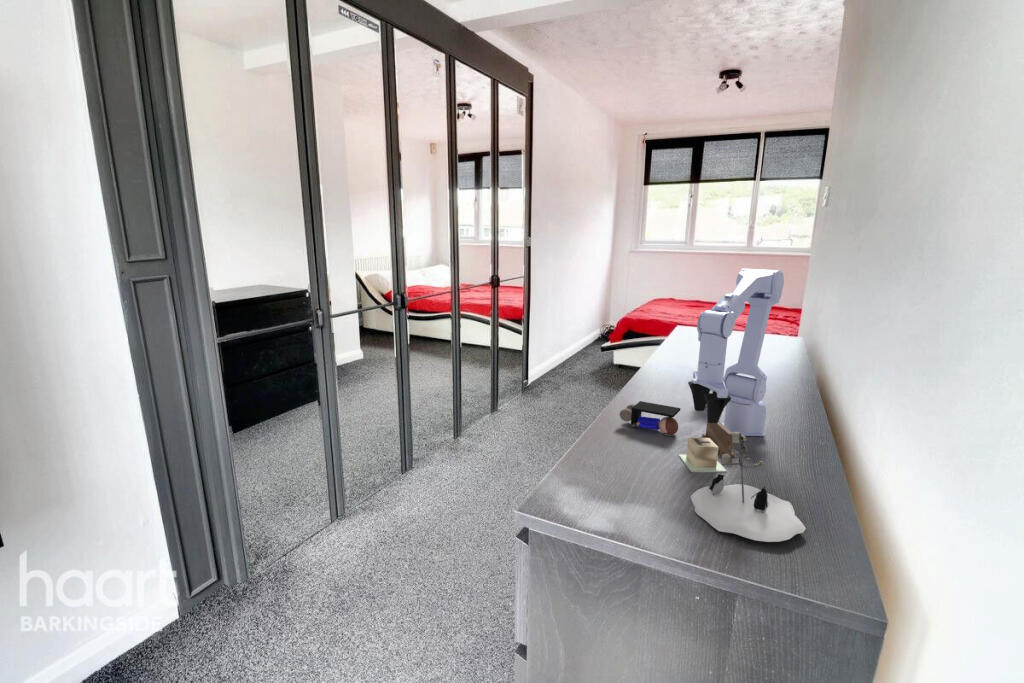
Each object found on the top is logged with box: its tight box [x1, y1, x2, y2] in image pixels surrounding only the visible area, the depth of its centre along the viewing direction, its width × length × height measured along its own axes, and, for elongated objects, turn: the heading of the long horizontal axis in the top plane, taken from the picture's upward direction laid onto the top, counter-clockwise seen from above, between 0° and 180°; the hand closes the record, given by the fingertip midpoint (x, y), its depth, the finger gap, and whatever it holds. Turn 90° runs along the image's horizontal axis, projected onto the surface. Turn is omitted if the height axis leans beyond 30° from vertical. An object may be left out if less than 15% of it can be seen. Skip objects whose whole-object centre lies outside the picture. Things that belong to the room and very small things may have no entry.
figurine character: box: [619, 400, 681, 437], centre depth 127 cm, size 7×8×15 cm
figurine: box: [690, 432, 807, 543], centre depth 88 cm, size 20×18×16 cm
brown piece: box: [701, 420, 736, 458], centre depth 117 cm, size 3×12×6 cm, turn 0°
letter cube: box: [686, 437, 719, 467], centre depth 108 cm, size 5×5×5 cm
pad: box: [678, 453, 727, 473], centre depth 109 cm, size 8×8×1 cm
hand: (705, 416), depth 112 cm, fingers open, 7 cm apart
